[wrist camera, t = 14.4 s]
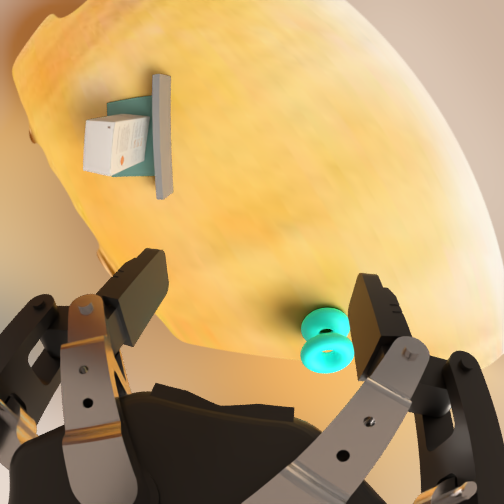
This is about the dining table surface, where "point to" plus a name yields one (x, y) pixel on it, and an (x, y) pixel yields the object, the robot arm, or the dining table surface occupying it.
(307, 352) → the donuts
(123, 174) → the mat
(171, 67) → the dining table surface
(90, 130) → the small box
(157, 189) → the divider wall
